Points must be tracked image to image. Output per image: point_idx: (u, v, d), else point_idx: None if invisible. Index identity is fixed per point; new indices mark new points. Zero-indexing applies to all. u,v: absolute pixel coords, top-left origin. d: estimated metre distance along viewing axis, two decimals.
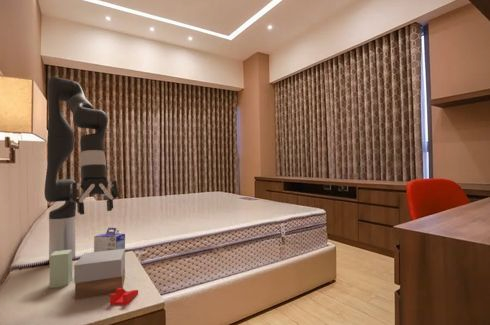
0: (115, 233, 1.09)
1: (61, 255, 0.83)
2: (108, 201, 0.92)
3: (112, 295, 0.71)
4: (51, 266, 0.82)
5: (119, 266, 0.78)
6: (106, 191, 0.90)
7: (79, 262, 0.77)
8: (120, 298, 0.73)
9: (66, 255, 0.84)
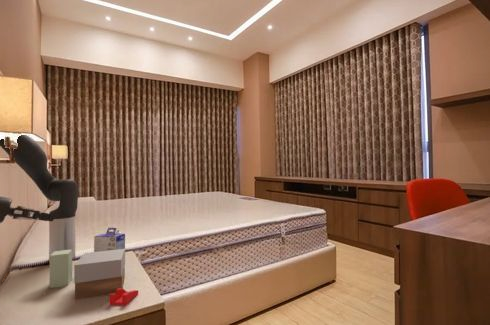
0: (115, 233, 1.09)
1: (61, 255, 0.84)
2: None
3: (111, 295, 0.71)
4: (51, 266, 0.82)
5: (119, 266, 0.78)
6: (25, 219, 0.80)
7: (79, 262, 0.76)
8: (120, 298, 0.73)
9: (66, 255, 0.84)
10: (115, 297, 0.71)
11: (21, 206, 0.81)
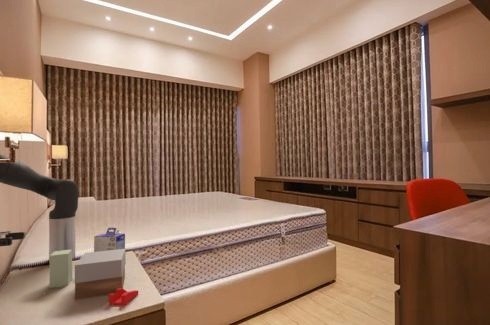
0: (115, 233, 1.09)
1: (61, 255, 0.83)
2: None
3: (111, 295, 0.71)
4: (51, 266, 0.82)
5: (119, 266, 0.78)
6: None
7: (79, 262, 0.76)
8: (119, 298, 0.73)
9: (66, 255, 0.84)
10: (114, 297, 0.71)
11: None
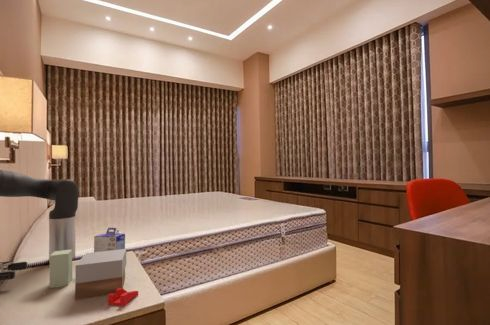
0: (115, 233, 1.09)
1: (61, 255, 0.83)
2: None
3: (110, 295, 0.71)
4: (51, 266, 0.82)
5: (120, 266, 0.78)
6: None
7: (80, 262, 0.76)
8: (119, 298, 0.72)
9: (66, 255, 0.84)
10: (114, 297, 0.71)
11: None
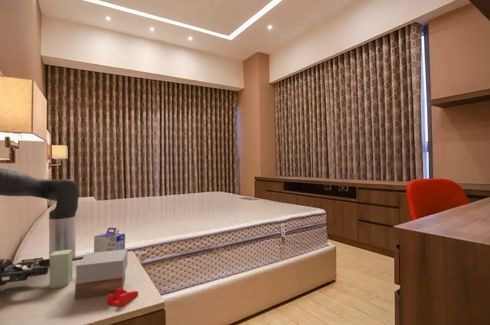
0: (115, 233, 1.09)
1: (61, 255, 0.83)
2: None
3: (109, 295, 0.71)
4: (51, 266, 0.82)
5: (121, 267, 0.78)
6: None
7: (81, 262, 0.76)
8: (118, 299, 0.72)
9: (66, 255, 0.84)
10: (113, 297, 0.71)
11: (15, 266, 0.80)
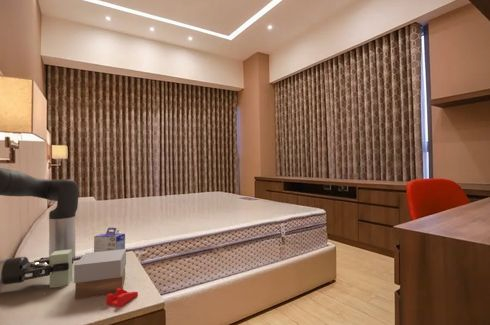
0: (115, 233, 1.09)
1: (61, 255, 0.83)
2: None
3: (108, 295, 0.71)
4: None
5: (119, 267, 0.78)
6: None
7: (79, 262, 0.77)
8: None
9: (66, 255, 0.84)
10: (112, 297, 0.71)
11: (33, 263, 0.81)
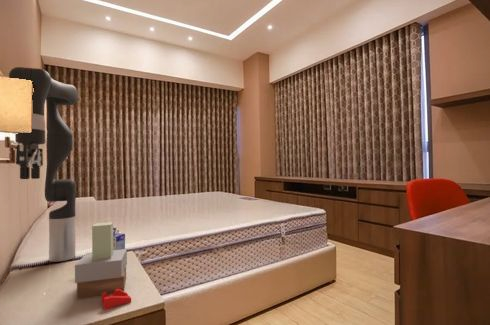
0: (115, 233, 1.09)
1: (103, 226, 0.80)
2: None
3: (102, 294, 0.72)
4: (94, 237, 0.79)
5: (119, 267, 0.78)
6: None
7: (80, 262, 0.77)
8: None
9: (108, 226, 0.80)
10: (105, 297, 0.71)
11: (35, 151, 0.84)
